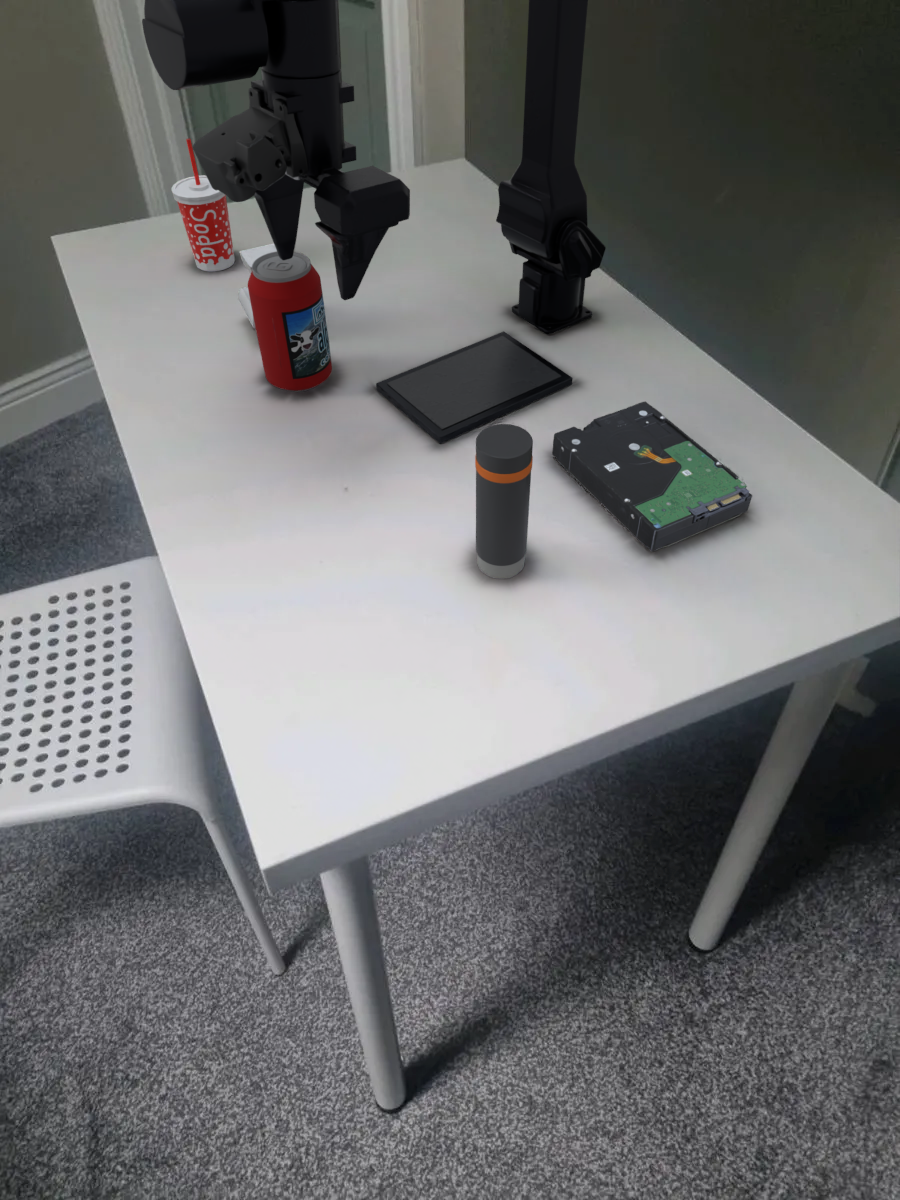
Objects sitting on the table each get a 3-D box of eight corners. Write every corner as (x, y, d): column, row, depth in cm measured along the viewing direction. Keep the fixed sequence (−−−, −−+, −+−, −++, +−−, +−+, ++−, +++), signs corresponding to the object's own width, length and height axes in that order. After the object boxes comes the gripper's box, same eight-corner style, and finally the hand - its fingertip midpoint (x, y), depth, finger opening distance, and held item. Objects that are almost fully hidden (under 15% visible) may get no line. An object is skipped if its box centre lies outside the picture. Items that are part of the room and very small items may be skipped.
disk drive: (548, 459, 81) (652, 556, 72) (550, 434, 79) (657, 530, 70) (640, 424, 84) (750, 512, 75) (644, 398, 82) (758, 486, 73)
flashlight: (505, 537, 74) (509, 416, 65) (536, 565, 71) (545, 444, 62) (465, 558, 72) (463, 437, 63) (496, 587, 70) (499, 466, 61)
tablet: (503, 337, 95) (503, 330, 94) (572, 384, 88) (573, 376, 88) (376, 390, 88) (375, 382, 88) (440, 444, 82) (440, 436, 82)
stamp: (321, 340, 95) (310, 264, 89) (260, 354, 93) (245, 278, 87) (296, 301, 101) (284, 228, 94) (238, 314, 99) (223, 240, 93)
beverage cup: (181, 272, 106) (150, 148, 96) (202, 248, 110) (174, 127, 100) (229, 276, 105) (203, 151, 95) (248, 252, 109) (225, 130, 99)
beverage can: (322, 400, 87) (305, 285, 79) (256, 393, 88) (232, 279, 80) (341, 362, 92) (327, 249, 83) (279, 356, 93) (258, 244, 84)
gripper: (137, 53, 65) (175, 262, 76) (273, 122, 55) (295, 351, 66) (269, 34, 71) (287, 232, 81) (415, 94, 61) (413, 310, 71)
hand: (316, 278), depth 75 cm, fingers open, 9 cm apart
